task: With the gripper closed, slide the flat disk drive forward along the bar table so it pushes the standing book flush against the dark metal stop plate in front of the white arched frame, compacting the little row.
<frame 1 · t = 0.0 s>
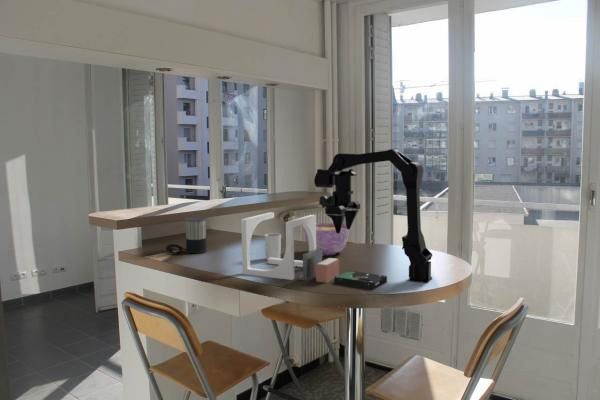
hand: (343, 231, 184), 15 cm above the table, tool pointing down, fingers open, 9 cm apart
metal stop plate: (314, 276, 178), on the table
bowl of food: (326, 253, 216), on the table
book: (327, 278, 176), on the table
disk drive: (360, 284, 170), on the table
white arched frame: (280, 271, 188), on the table
drinking glass: (273, 259, 207), on the table
milk frother: (186, 253, 222), on the table
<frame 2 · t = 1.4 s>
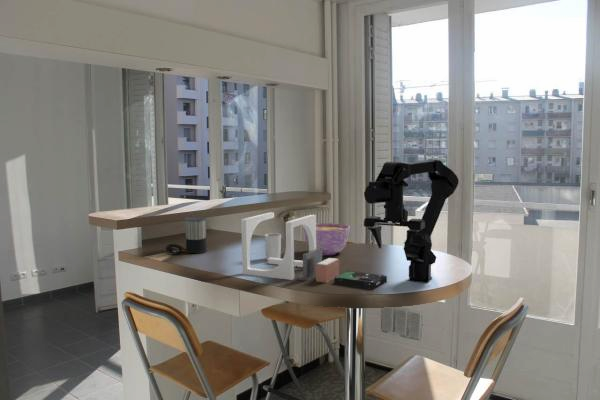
hand: (393, 249, 164), 12 cm above the table, tool pointing down, fingers open, 9 cm apart
nothing on the table moved.
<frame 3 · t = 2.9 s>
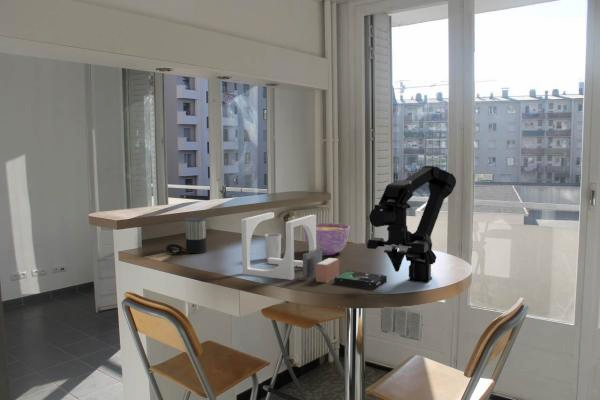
hand: (397, 271, 163), 5 cm above the table, tool pointing down, fingers closed
nothing on the table moved.
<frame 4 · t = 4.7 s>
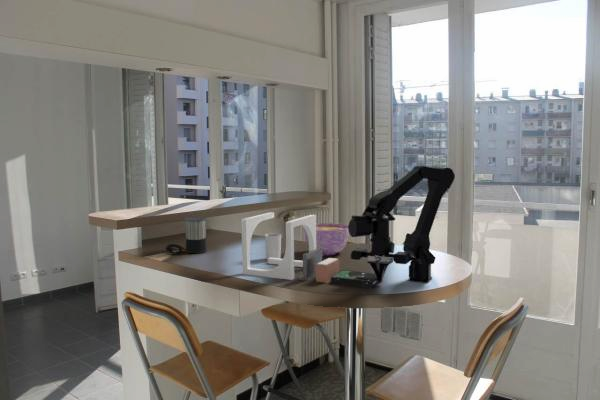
hand: (380, 281, 166), 1 cm above the table, tool pointing down, fingers closed
disk drive: (356, 283, 171), on the table, touching gripper
everything else where it was.
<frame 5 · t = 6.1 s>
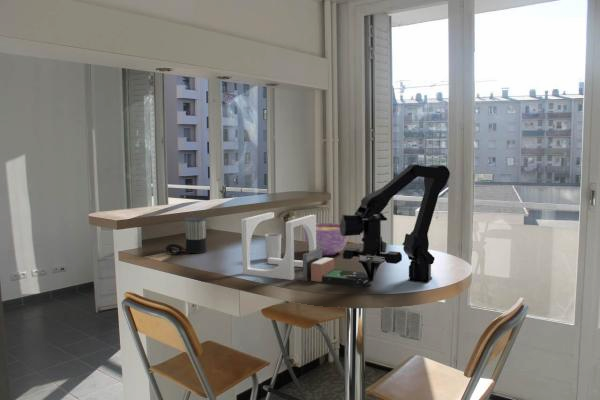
hand: (371, 281, 168), 1 cm above the table, tool pointing down, fingers closed
book: (323, 278, 176), on the table
disk drive: (348, 282, 172), on the table
everything else where it was.
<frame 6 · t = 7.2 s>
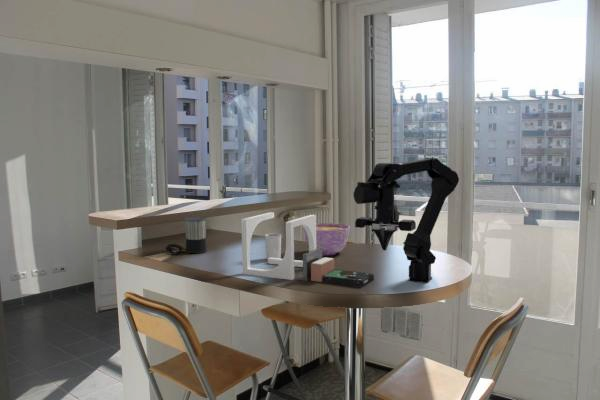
hand: (384, 250, 165), 12 cm above the table, tool pointing down, fingers closed
nothing on the table moved.
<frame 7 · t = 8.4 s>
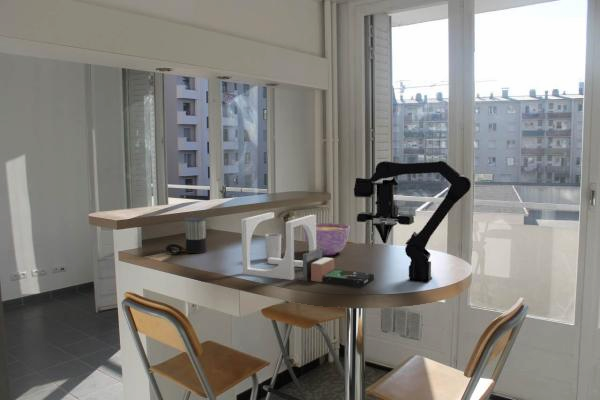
hand: (384, 243, 175), 12 cm above the table, tool pointing down, fingers closed
nothing on the table moved.
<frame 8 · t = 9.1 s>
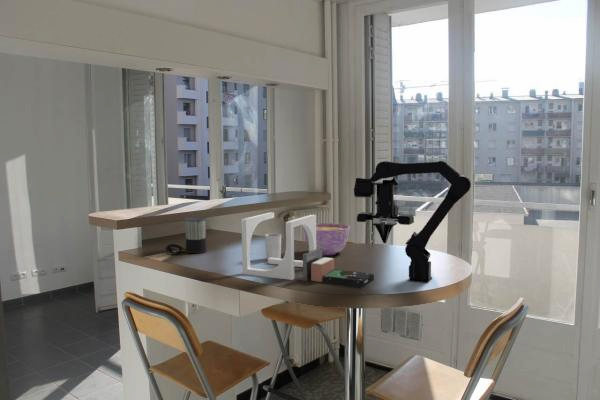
hand: (384, 243, 175), 12 cm above the table, tool pointing down, fingers closed
nothing on the table moved.
at the end: disk drive inside the target area (1.4 cm from its centre), on the table; book 0.9 cm from the target spot, on the table; white arched frame moved 0.0 cm from its start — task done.
